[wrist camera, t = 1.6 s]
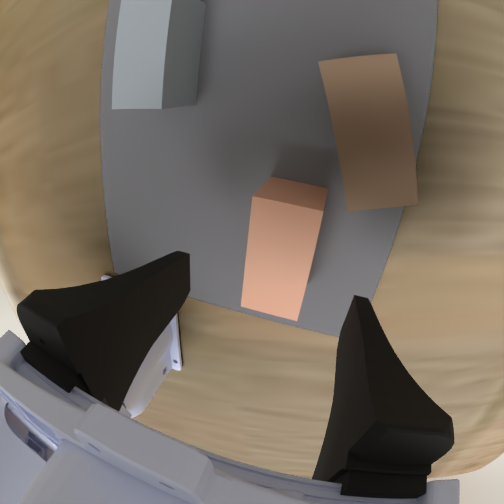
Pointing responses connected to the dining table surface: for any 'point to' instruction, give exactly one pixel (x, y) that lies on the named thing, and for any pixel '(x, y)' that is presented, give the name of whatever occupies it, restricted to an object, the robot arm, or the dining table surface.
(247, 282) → the brick terracotta
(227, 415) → the dining table surface
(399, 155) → the brick walnut
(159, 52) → the brick slate
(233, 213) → the felt mat
